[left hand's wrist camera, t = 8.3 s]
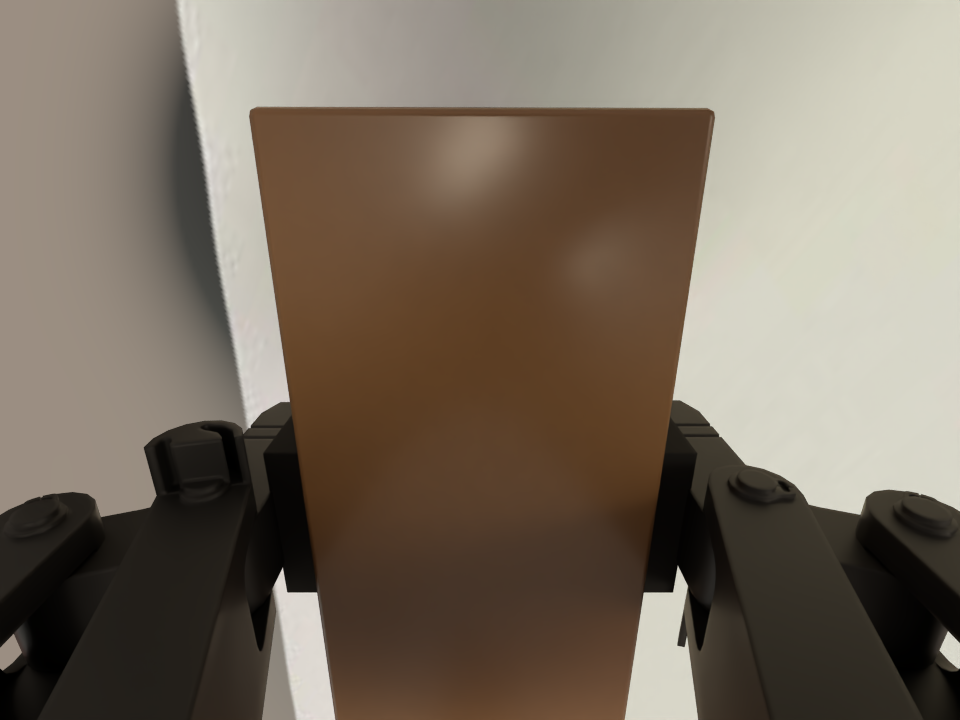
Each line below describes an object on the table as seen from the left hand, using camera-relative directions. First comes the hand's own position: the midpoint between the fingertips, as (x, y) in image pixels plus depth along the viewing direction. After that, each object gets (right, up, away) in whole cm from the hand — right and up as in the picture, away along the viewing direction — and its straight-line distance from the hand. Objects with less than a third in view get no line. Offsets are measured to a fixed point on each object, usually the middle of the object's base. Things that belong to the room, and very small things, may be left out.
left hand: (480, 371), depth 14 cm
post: (0, -19, +8) cm, 20 cm away
